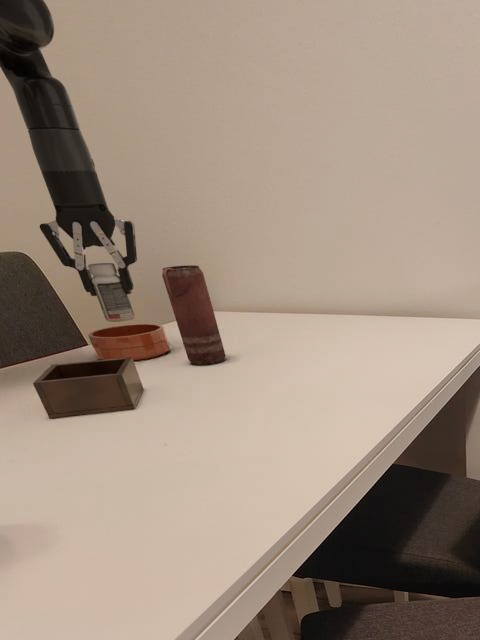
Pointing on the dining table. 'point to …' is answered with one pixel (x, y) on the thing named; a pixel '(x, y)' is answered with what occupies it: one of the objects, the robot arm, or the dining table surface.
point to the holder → (89, 387)
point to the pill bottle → (111, 292)
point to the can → (194, 314)
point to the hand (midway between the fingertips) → (111, 293)
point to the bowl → (130, 341)
